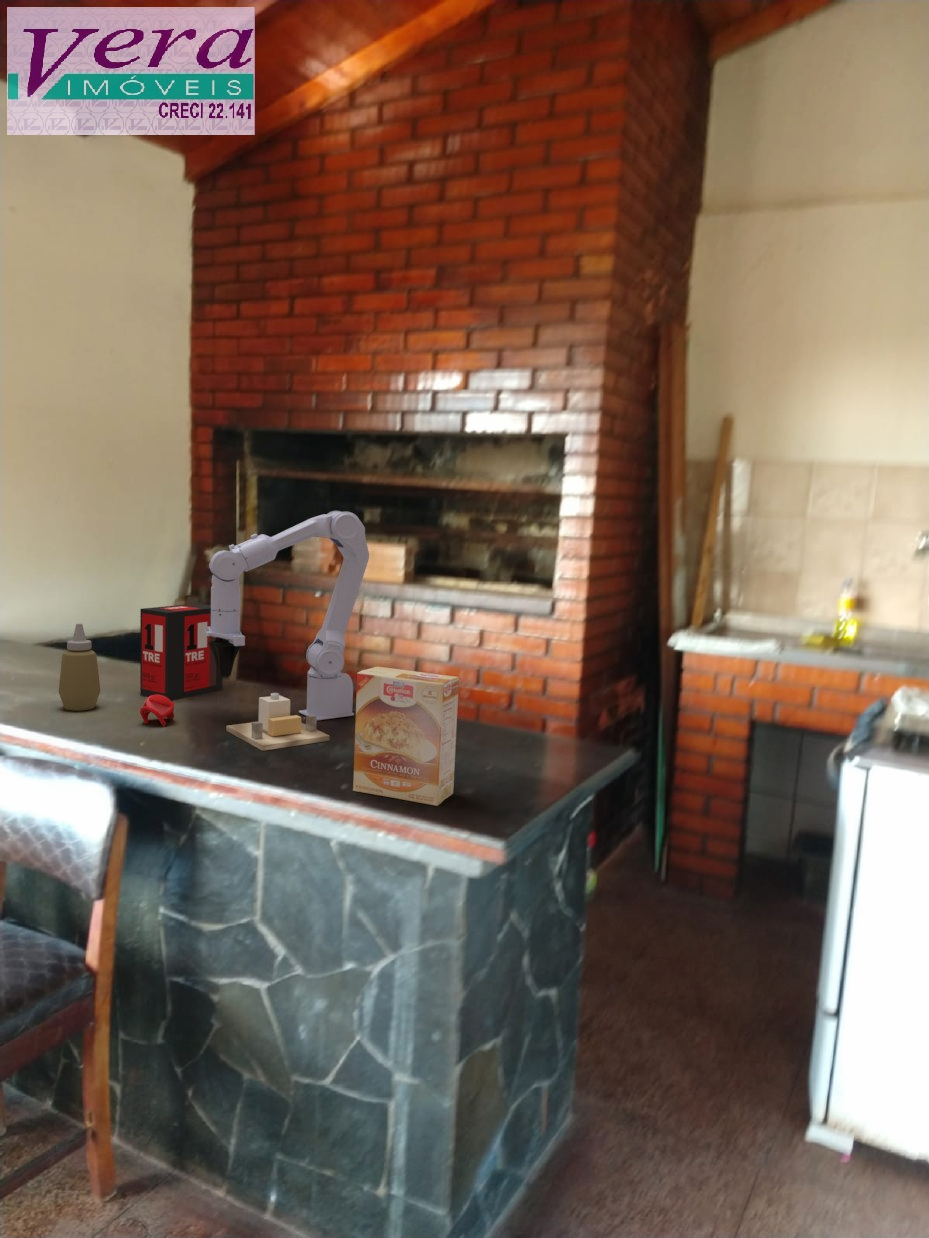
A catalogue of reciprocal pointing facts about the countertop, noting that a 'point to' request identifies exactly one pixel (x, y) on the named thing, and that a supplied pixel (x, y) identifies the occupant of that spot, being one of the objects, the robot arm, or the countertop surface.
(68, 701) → the squeeze bottle
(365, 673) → the coffeecake box
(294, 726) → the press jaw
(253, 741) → the press bed
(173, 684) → the cleaning product box
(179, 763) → the countertop surface
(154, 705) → the red toy chair
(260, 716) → the block
